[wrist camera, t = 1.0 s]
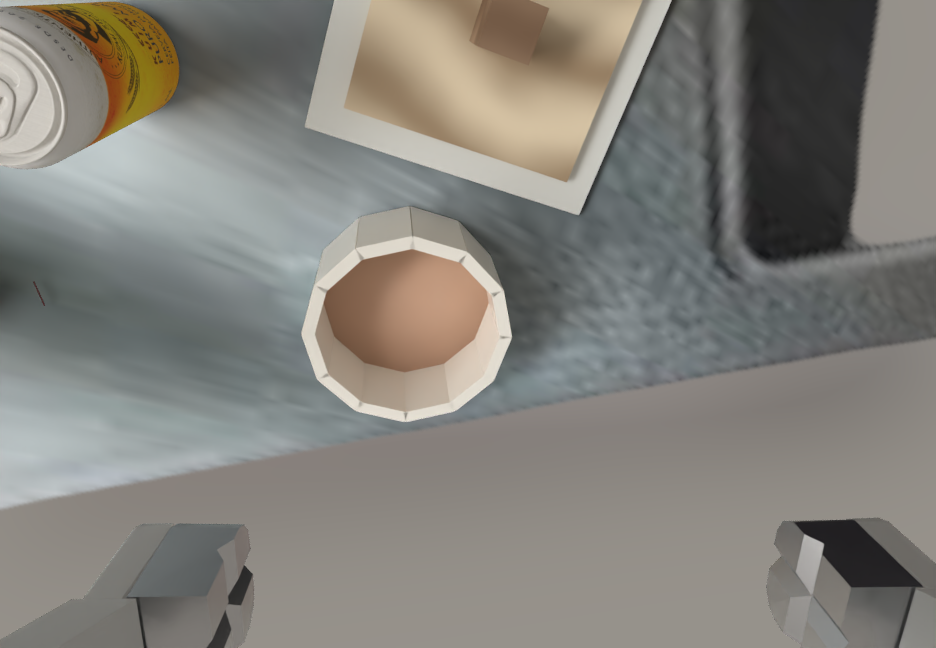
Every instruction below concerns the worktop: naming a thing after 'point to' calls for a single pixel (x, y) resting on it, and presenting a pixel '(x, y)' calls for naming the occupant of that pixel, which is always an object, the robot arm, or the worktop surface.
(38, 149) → the beer can
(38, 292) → the figurine
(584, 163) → the mat
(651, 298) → the worktop surface
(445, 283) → the bowl
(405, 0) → the lid
